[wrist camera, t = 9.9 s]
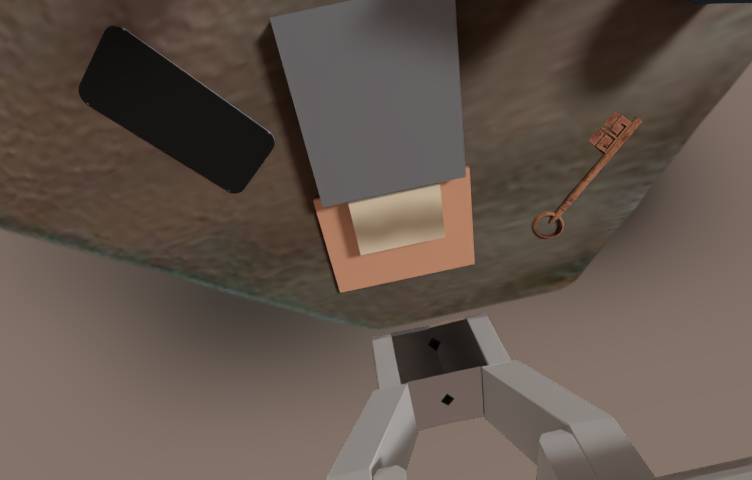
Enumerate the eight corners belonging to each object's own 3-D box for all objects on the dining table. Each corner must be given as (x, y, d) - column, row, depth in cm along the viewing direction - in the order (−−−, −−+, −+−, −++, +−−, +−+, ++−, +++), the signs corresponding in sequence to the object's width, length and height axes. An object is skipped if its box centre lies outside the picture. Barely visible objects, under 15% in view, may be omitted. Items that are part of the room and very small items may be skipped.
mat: (313, 198, 39) (313, 200, 39) (467, 165, 39) (469, 167, 39) (339, 290, 45) (340, 292, 45) (473, 261, 46) (474, 263, 45)
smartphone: (110, 18, 30) (279, 139, 36) (114, 18, 30) (280, 137, 36) (73, 96, 32) (237, 197, 38) (78, 95, 33) (239, 194, 39)
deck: (273, 17, 31) (269, 17, 29) (445, -20, 31) (453, -22, 29) (322, 196, 39) (322, 207, 37) (458, 167, 39) (465, 177, 37)
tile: (347, 196, 39) (348, 204, 37) (434, 177, 39) (439, 184, 37) (359, 245, 42) (360, 255, 40) (440, 228, 42) (445, 237, 40)
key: (609, 98, 38) (511, 219, 44) (614, 99, 37) (515, 223, 43) (648, 128, 40) (550, 241, 45) (655, 130, 39) (553, 245, 45)
